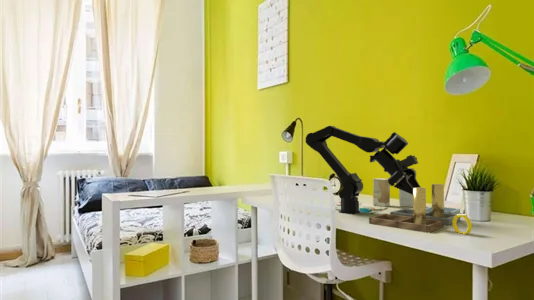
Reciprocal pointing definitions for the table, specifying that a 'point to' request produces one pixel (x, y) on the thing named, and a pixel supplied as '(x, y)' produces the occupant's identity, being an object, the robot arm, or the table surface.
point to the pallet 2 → (427, 215)
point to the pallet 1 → (405, 222)
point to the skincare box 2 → (405, 199)
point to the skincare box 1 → (381, 192)
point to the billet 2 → (438, 200)
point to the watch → (466, 221)
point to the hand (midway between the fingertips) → (419, 193)
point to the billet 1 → (419, 205)
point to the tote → (447, 210)
